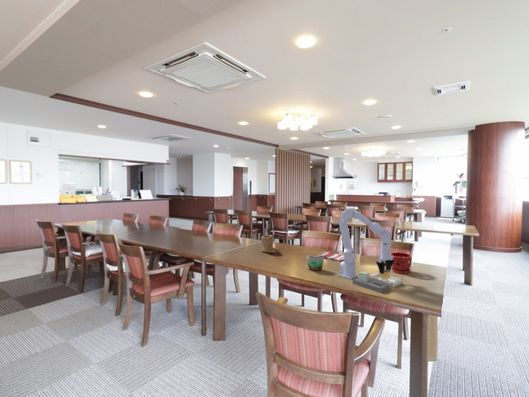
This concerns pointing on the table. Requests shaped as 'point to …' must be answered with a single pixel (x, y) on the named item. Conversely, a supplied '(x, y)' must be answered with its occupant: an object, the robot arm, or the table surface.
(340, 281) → the table surface
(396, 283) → the parts tray
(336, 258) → the dish towel
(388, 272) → the fuse
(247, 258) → the table surface
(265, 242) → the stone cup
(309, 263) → the food container
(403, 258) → the plant pot
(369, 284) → the grey flat slab
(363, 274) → the fuse
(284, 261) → the table surface
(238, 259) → the table surface
